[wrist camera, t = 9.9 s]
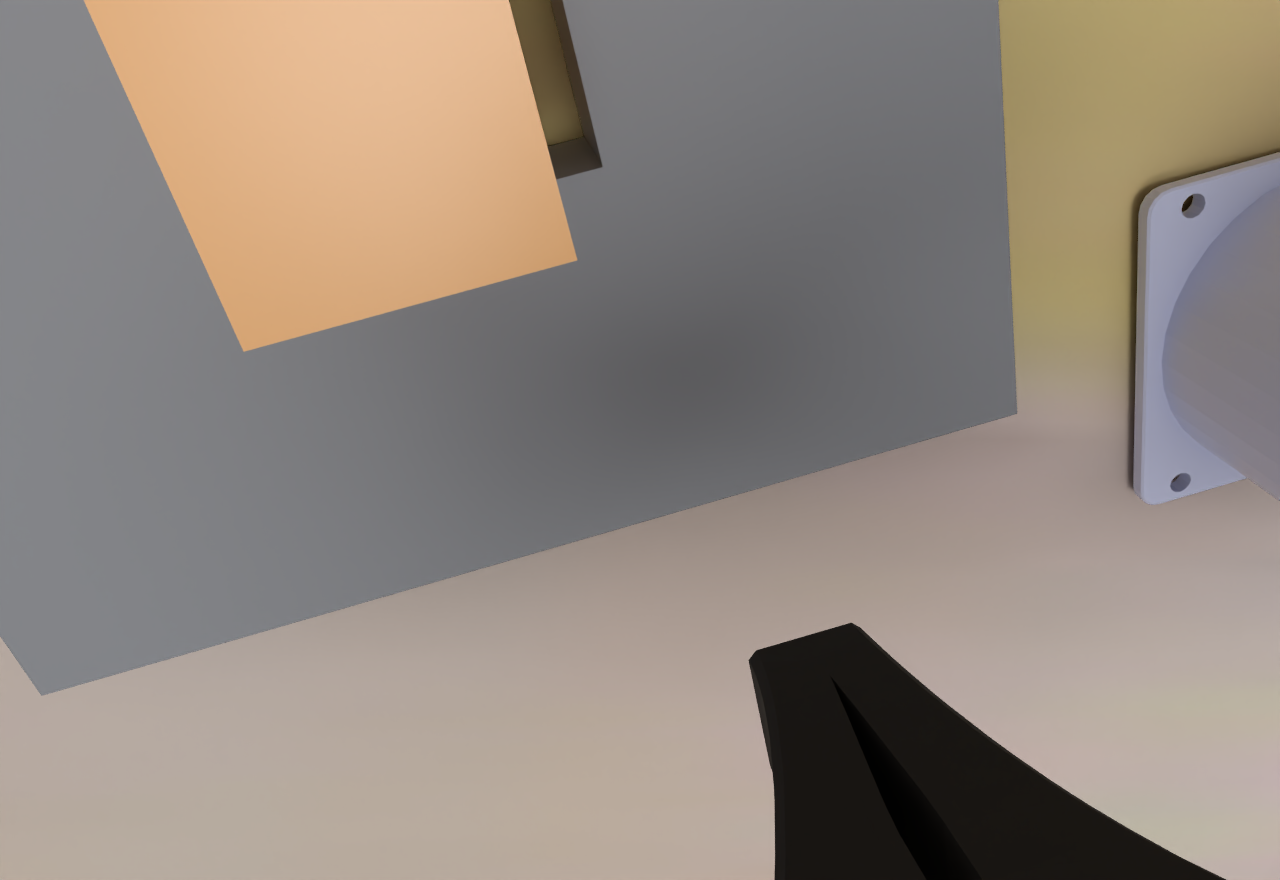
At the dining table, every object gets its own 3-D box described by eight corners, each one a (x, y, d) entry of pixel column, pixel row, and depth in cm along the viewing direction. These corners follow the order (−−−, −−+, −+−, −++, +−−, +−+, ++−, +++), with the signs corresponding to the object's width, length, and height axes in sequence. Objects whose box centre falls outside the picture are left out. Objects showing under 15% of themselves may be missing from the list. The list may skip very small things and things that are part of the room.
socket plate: (860, -1004, 13) (944, -1183, 11) (961, 364, 23) (1017, 413, 21) (-726, -654, 12) (-978, -774, 10) (80, 616, 22) (41, 695, 20)
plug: (461, -111, 17) (477, -119, 10) (526, 128, 19) (577, 260, 12) (226, -50, 17) (76, -16, 10) (316, 184, 19) (243, 351, 12)
